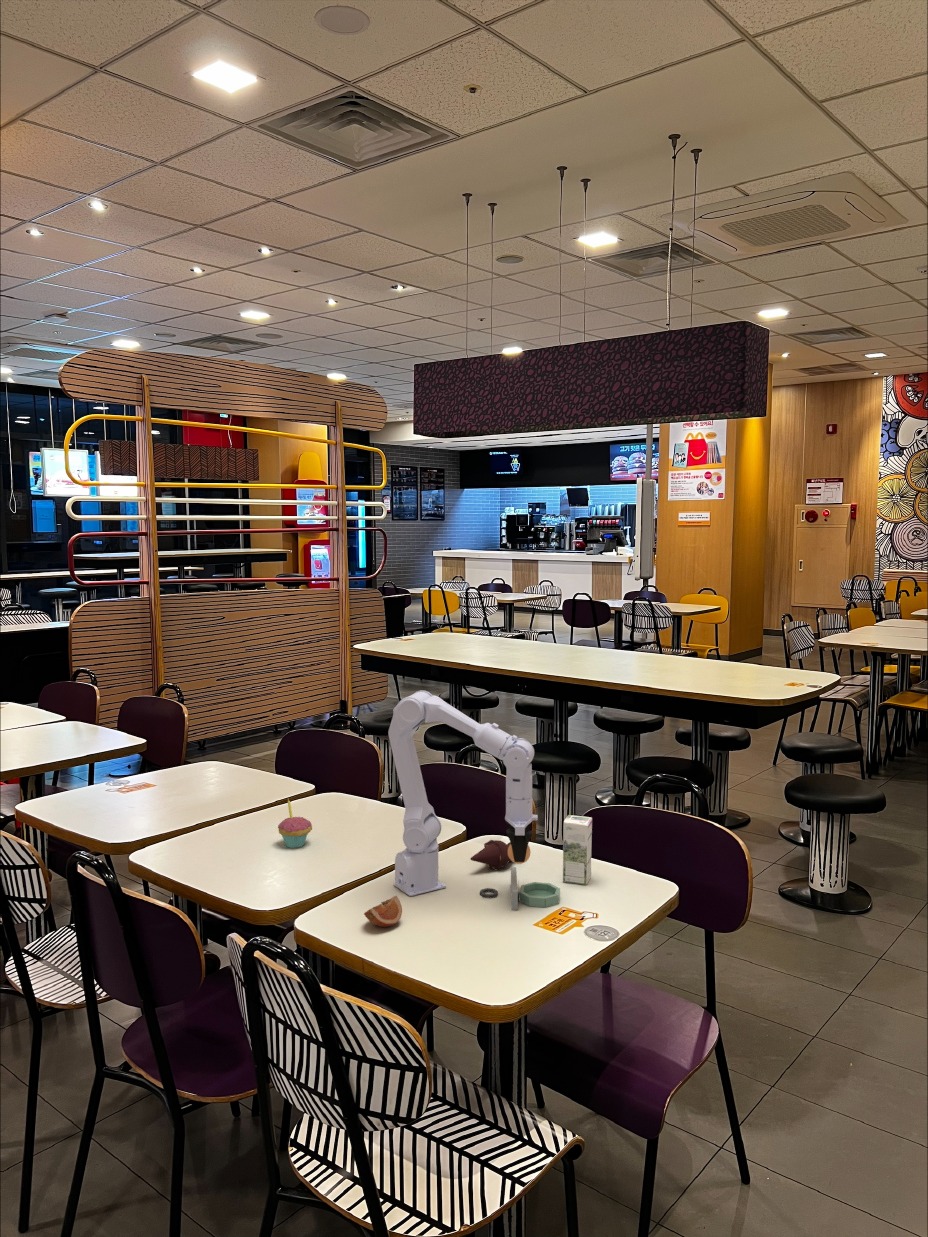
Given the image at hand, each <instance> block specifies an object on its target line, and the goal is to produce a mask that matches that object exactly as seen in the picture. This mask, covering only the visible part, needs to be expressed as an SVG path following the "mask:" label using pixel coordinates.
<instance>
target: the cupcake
mask: <svg viewBox="0 0 928 1237" xmlns="http://www.w3.org/2000/svg"><path fill="white" fill-rule="evenodd" d="M287 805H288V806H287V807H288V813H289V817H287V818H284V819H283V820H282V821H281V822H280V823H279V824H278V825H277V829H278V833H279V835H281V836H282V840H283V841H284V845H285V847H287V848H290V849H291V848H292V849H297V848H302V847H304V846H305V842H306V841H307V840H306V839H307V836H308V835H309V833H310V832H311V831H312V830H313V825H312V822H311V821H310V820H308V819H306V818H305V817H301V816H293V810H292V804H291V801H290V800H289V798H287Z"/></svg>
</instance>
